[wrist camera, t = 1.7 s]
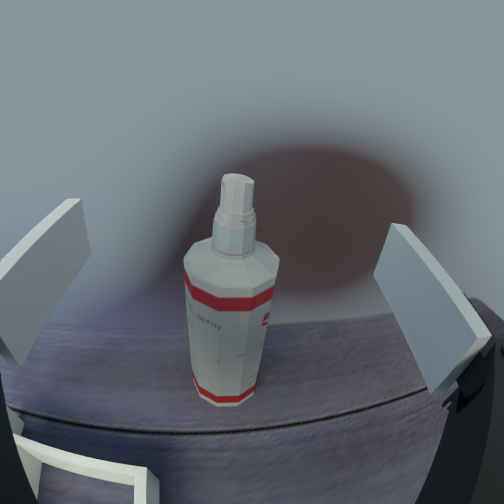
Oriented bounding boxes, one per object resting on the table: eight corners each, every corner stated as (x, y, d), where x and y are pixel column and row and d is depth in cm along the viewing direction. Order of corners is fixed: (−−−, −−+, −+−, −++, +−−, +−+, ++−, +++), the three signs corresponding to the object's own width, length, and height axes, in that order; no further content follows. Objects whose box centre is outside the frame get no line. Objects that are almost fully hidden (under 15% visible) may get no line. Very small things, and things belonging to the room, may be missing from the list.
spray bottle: (187, 364, 35) (174, 166, 21) (240, 350, 38) (260, 161, 24) (207, 415, 29) (202, 204, 15) (266, 395, 32) (314, 194, 18)
